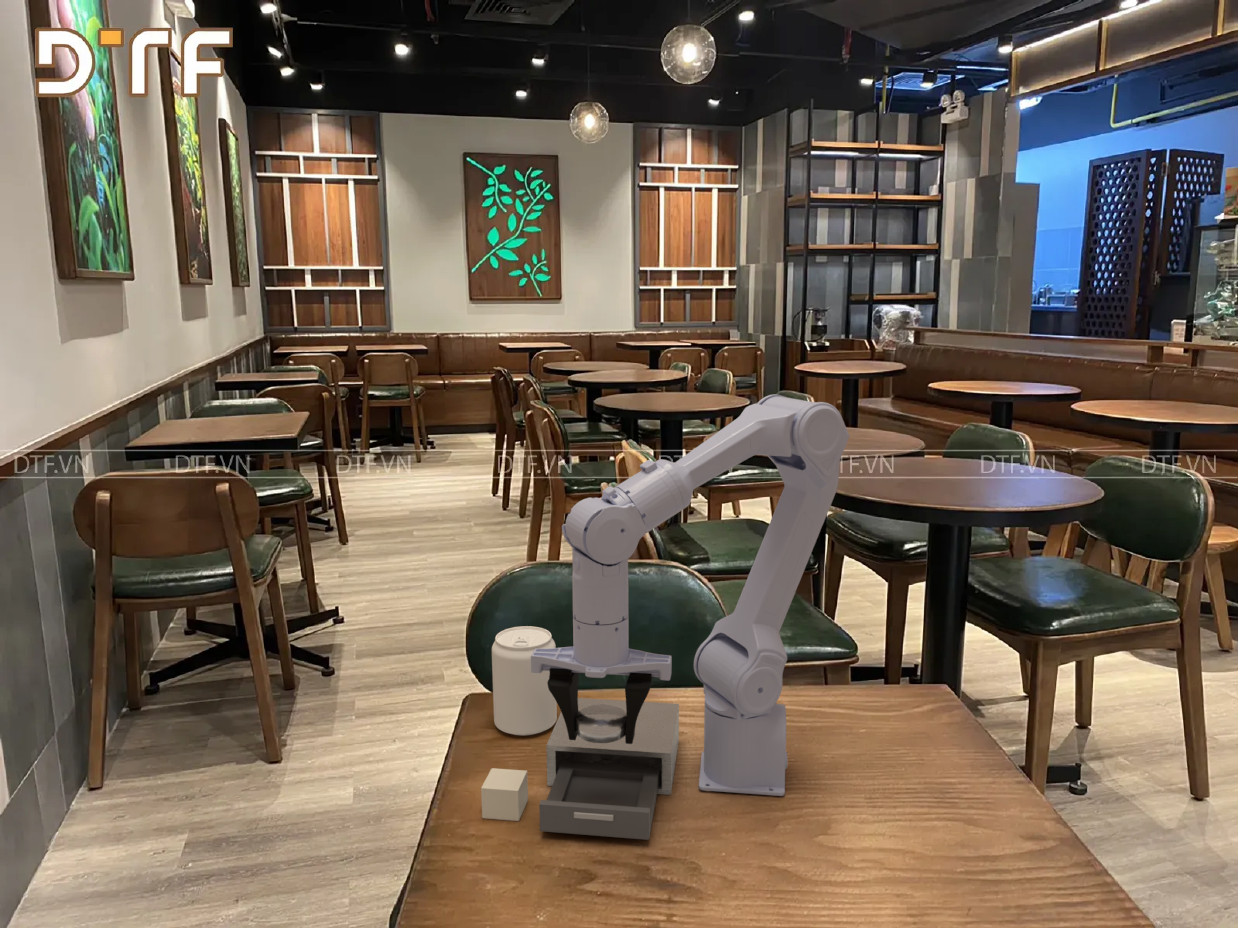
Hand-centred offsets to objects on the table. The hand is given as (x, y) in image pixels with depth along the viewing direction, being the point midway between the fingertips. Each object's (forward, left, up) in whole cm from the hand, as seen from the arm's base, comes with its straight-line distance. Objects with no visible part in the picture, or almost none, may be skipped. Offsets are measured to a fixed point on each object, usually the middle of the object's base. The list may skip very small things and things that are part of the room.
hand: (601, 737), depth 92 cm
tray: (0, 0, -8) cm, 8 cm away
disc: (0, 0, +1) cm, 1 cm away
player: (0, -10, -9) cm, 13 cm away
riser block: (+10, +1, -9) cm, 14 cm away
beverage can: (+13, -18, -9) cm, 24 cm away
